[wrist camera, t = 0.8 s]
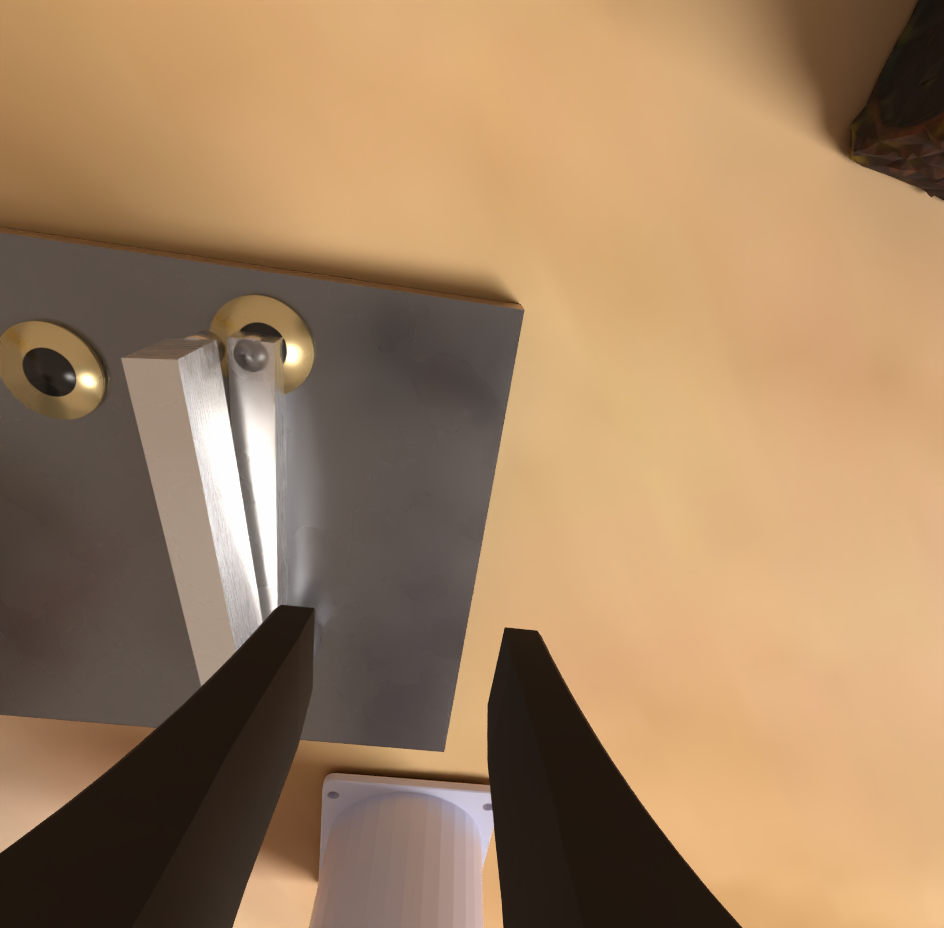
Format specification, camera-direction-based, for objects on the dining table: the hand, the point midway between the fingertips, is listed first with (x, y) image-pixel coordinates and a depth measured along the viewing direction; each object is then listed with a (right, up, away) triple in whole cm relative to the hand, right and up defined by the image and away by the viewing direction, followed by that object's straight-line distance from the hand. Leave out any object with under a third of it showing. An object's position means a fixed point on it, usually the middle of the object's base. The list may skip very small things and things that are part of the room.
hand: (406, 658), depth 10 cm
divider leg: (-6, +1, +7) cm, 9 cm away
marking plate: (-8, +1, +9) cm, 11 cm away
